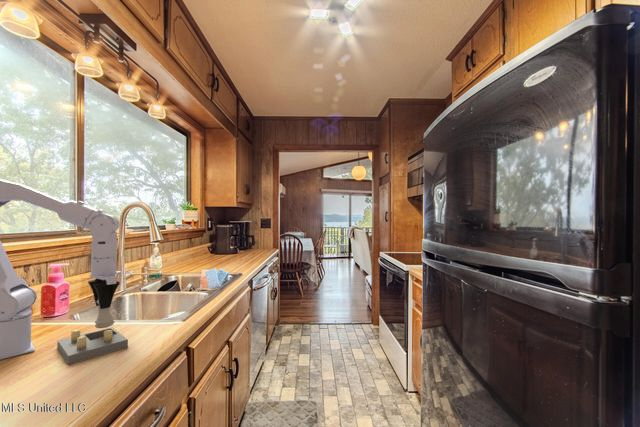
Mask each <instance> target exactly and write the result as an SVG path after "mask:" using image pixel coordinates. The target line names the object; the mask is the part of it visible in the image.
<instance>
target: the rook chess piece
mask: <svg viewBox="0 0 640 427" xmlns="http://www.w3.org/2000/svg"><path fill="white" fill-rule="evenodd" d="M96 302H97V303H98V304H99V300H97V301H96ZM97 308H98V313H97V317H96V320H94V324H95V325H94V327H95V328H96V329H107V328H110V327H112V326H113V325H114V324H115V322H116V321H115V317H114V316H113V315H112V313H111V309H110V308H111V307H110V308H104V309H100V306H97Z"/></svg>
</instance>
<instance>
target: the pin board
mask: <svg viewBox="0 0 640 427" xmlns="http://www.w3.org/2000/svg"><path fill="white" fill-rule="evenodd" d="M70 333H71V335H70V337H66V338H62V339H58V340H57V347H56V348H57V350H58V352H59V353H60V355H61V356H62V357H63V359H64V360H65V362H66V364H67V365H71V364H75V363H78V362H82V361H85V360H88V359H92V358H96V357H99V356H102V355H106V354H109V353H112V352H115V351H120V350H122V349H126V348H128V347H129V346H128V345H129V339H128V338H127V337H125V336H124V335H123V334H122V333H120V332H119V331H118V330H117V329H116V328H114V327H113V326H110V327H106V328H102V329H100V330H99V329H98V330H94V331H90V332H87V333H82V334H81V329H79V328H78V329H73V330H71V331H70Z"/></svg>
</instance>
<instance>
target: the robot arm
mask: <svg viewBox="0 0 640 427" xmlns="http://www.w3.org/2000/svg"><path fill="white" fill-rule="evenodd" d="M11 201H13V202H15V201H16V202H18V201H21V202H24V203H28V204H31V205H33V206H36V207H40V208H42V209H45V210H49V211H51V212H54V213H56V214H57V216H58V218H59V219H60V221H63V222H67V223H68V224H69V223H70V224H72V225H75V226H77V227H80V228H83V229H85V230H89V231H90V233H91V234H92V235H91V236H92V237H91V239H92V240H91V249H90V250H91V255H90V256H91V257H90V258H91V259H90V274H89V278H90V279H93V280H88V281H87V284H88V285H89V286H90V290H92V294H93V299H94V302H95V303H94V304H95V305H96V307H98V306H100V309H104V308H111V305H112V303H113V299H114V295H115V293H116V290H117V288H118V287H119V285H120V281H118V280H117V279H118V278H117V276H118V275H122V271H121V270H117V268H118V267H117V264H118V240H117V239H118V235H117V234H118V232H117V231H118V230H119V229H120V227H121V226H120V220H119V219H118V217H116V216H115V215H113V214H112V213H104V210H103V209H100V208H99V209H95V208H94V207H91V206H88V205H86V204H85V201H82V200H77V201H76V200H69V201H65V202H64V201H62V200H60V199H58V198H55V197H54V196H51V195H48V194H46V193H44V192H41V191H39V190H37V189H34V188H32V187H30V186H27V185H24V184H21V183H17V182H12V181H9V180H7V179H3V178H0V208H2V207H3V206H5V205H7V204H8V203H10V202H11ZM3 245H4V244H3V243H2V241H1V240H0V360H4V359H7V358H11V357H15V356H20V355H24V354H27V353H32V352H35V350H36V348H35V347H34V346H35V345H34V344H33V342H32V314H33V312H32V311H33V310H32V309H31V307H32V306H33V305H35V303H36V302H37V298H38V295H37V292H36V290H35V289H33V287H30V286H29V284H28V283H27V281H26V280H25V279H23V278H22V277H20V276H19V275H17V273H16V271H15V269H14V267H13V264H12V263H11V260H10V259H9V256H8V254H7V252H6V250H5V247H4V246H3ZM97 300H99V304H98V303H97V302H96V301H97Z"/></svg>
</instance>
